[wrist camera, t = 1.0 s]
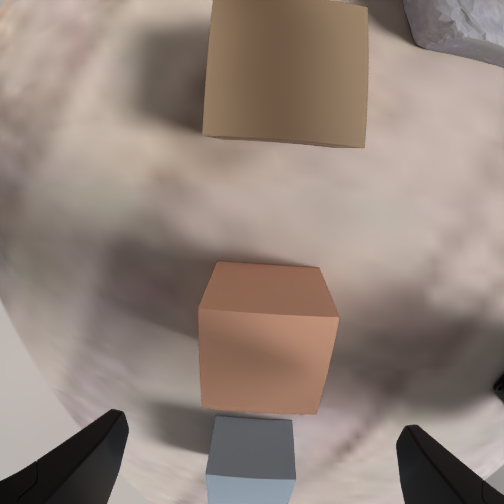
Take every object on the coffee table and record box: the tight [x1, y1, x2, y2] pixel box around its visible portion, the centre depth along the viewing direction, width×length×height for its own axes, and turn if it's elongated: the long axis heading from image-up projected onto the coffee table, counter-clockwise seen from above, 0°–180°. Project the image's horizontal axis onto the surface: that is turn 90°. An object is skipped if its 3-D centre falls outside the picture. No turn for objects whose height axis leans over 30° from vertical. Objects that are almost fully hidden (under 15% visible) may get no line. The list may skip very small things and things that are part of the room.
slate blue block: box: [205, 416, 296, 504], centre depth 18 cm, size 5×5×5 cm
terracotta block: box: [198, 261, 340, 414], centre depth 14 cm, size 5×5×5 cm
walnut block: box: [202, 0, 369, 148], centre depth 11 cm, size 5×5×5 cm
